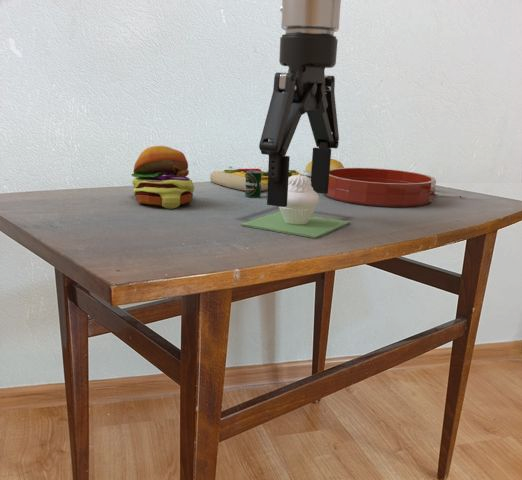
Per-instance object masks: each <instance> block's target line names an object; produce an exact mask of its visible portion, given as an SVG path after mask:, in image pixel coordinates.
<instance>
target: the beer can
mask: <svg viewBox="0 0 522 480" xmlns="http://www.w3.org/2000/svg"><path fill="white" fill-rule="evenodd" d="M261 194H262V191H261V172H260V171H254V170H250V171H247V173H246V185H245V191H244V195H245V196H246V197H247V198H260V197H261Z"/></svg>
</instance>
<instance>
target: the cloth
mask: <svg viewBox="0 0 522 480" xmlns="http://www.w3.org/2000/svg"><path fill="white" fill-rule="evenodd" d="M350 222H351V221H348V220H341V219H334V218H329V217H328V218H327V217H321V216H314V215H312V216H311V217H310V219H309V221H308V222H307V224H303V225H294V224H288V223H286V222H285V220H284V218H283V215H282V213H281V211H280V210H279V211H277V212H273V213H269V214H267V215H264V216H261V217H258V218H254V219H251V220H248V221H245V222H242V223H240V226H241V227H246V228H252V229H258V230H264V231H270V232H276V233H282V234H287V235H293V236H300V237H305V238H311V239H318V238H321V237H323V236H325V235H328V234H330V233H332V232H334V231H336V230H338V229H341V228H343V227H345V226H347V225H350Z"/></svg>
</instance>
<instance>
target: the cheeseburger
mask: <svg viewBox="0 0 522 480" xmlns="http://www.w3.org/2000/svg"><path fill="white" fill-rule="evenodd" d="M133 165H134V166H133V173H131V177H134V178H133V179H132V185H133V196H134V197H136V201H137V203H138V204H139V205H140V204H142V205H151V206H161V207H162V208H165V209H168V210H173V209H176V208H179V207H180V205H184V204H187V203H189V202H191V201H193V198H194V197H193V196H194V191H195V184H194V182H193V180H192V179H191V178H190V177H188V176H189V175H190V171H189V162H188V160H187V157H186V155H185V154H184V152H182V151H180V150H177V149H175V148H172V147H169V146H167V145H153V146H149V147H147V148H145V149H144V150H143V151H142V152H141V153H140V154H139V156H138V157H137V159H136V161H135V163H134V164H133Z"/></svg>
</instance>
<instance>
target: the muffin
mask: <svg viewBox="0 0 522 480" xmlns="http://www.w3.org/2000/svg"><path fill="white" fill-rule="evenodd" d="M300 174H301V173H300ZM300 174H298V175H294V176H291V177H289V178H288V197H287V207H280V206H278V208H279V211H281V213H282V215H283V218H284V220H285V222H286V223H288V224H294V225H303V224H307V222H308V221H309V219H310V217H311V216H313V214H314V212H315V211H316V209H317V206H318V204H319V202H320V197H319V195H318V194H319V193H316V192H315V191H314V190H313V187H312V186H311V178H309V177H307V175H304V176H302V175H300Z"/></svg>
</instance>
